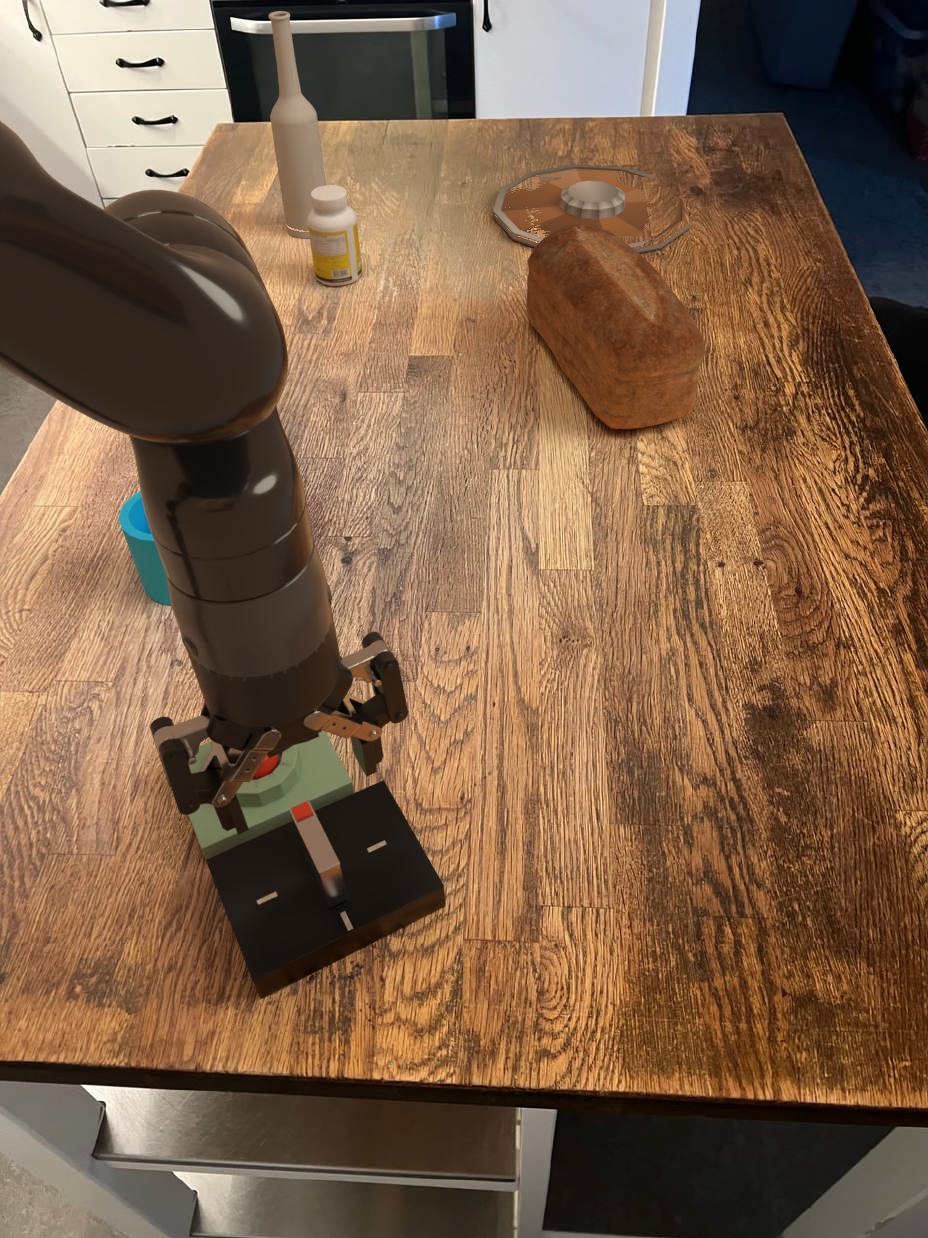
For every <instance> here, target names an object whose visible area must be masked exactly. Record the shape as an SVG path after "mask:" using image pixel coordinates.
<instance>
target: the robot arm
mask: <svg viewBox="0 0 928 1238" xmlns="http://www.w3.org/2000/svg"><path fill="white" fill-rule="evenodd" d="M0 368H3V369H4V370H6V371H7V372H9V373H11V374H12V375H14V376H17V377H18V378H20V379H21V380H23V381H25V382H26V383H28V384H29V385H31V386H33V387H35V388H37V389H38V390H40V391H42V392H43V393H45V394H47V395H48V396H50V397H52V398H54V399H56V400H57V401H59V402H61V403H63V404H64V405H66V406H68V407H70V408H71V409H73V410H75V411H76V412H78V413H81V414H82V415H84V416H85V417H88V418H89V419H91V420H93V421H95V422H97V423H99V424H102V425H103V426H106V427H108V428H110V429H112V430H115V431H118V432H120V433H123V434H125V435H128V438H129V441H130V444H131V445H132V451H133V453H134V454H133V456H134V460H135V466H136V471H137V478H138V484H139V492H140V491H141V496H142V501H143V506H144V510H145V514H146V517H147V521H148V524H149V528H150V530H151V533H152V536H153V539H154V541H155V544H156V547H157V550H158V553H159V556H160V559H161V562H162V564H163V567H164V570H165V574H166V578H167V583H168V590H169V596H170V601H171V605H170V606H171V610H172V612H173V613H172V614H173V615H174V618H175V621H176V624H177V627H178V629H179V632H180V635H181V636H180V637H181V641H182V644H183V646H184V648H185V650H186V652H187V655H188V658H189V661H190V663H191V666H192V669H193V672H194V674H195V677H196V680H197V683H198V686H199V690H200V691H201V694H202V698H203V705H202V708H201V710H200V715H199V716H196V717H193V718H189V719H187V720H185V721H182V722H179V723H176V724H174V722H173V719H172V718H171V717H169V716H160V717H157V718H155V719H154V720H153V721H152V722H151V723H150V724H149V730H150V732H151V735H152V739H153V742H154V745H155V748H156V751H157V754H158V757H159V761H160V763H161V767H162V769H163V773H164V776H165V779H166V782H167V784H168V787H169V788H170V790H171V792H172V795H173V798H174V802H175V806H176V808H177V810H178V813H179V814H180V815H182V816H188V815H189V814H192V813H194V812H196V811H197V810H198V809H199V807H200V805H201V804H211V805H213V806H214V809H215V811H216V814H217V816H218V818H219V821H220V823H221V826H222V828H223V829H225V830H226V831H229V830H231V829H234V828H236V831H237V833H238V835H239V834H242V833H244V832H246V831H248V830H249V828H248V826H247V823H246V820H245V817H244V814H243V812H242V809H241V806H240V803H239V800H238V798H237V796H236V793H237V791H238V790H239V788H240V786H241V785H242V783H243V782H250V781H251V780H252V778H253V776H254V775H255V773H256V772H257V770H258V768H259V767H260V765H261V763H262V762H263V760H264V759H265V757H266V755H268V757H269V758H271V757H273V756H275V755H278V754H280V753H282V752H284V751H285V750H287V749H288V748H290V747H292V746H293V745H296V744H300V743H304V742H308V741H310V740H312V739H315V738H317V737H319V733H320V732H321V731H322V730H323V731H325V732H326V733H328V734H332V735H335V736H338V737H340V738H343V739H345V740H349V739H350V742H351V746H352V751H353V755H354V757H355V759H356V761H357V763H358V765H359V766H360V768H361V770H362V772H363V774H364V775H365V777H369V776H371V775H374V774H376V773H377V772H378V769H377V768H378V767H377V765H378V764H380V763H382V762H383V759H384V750H383V744H382V743H383V742H382V734H383V729H384V727H385V726H386V725H387V724H389V723H390V722H391V723H392V724H399V723H402V722H404V721H405V720H406V719H407V718H408V716H409V708H408V703H407V699H406V694H405V689H404V683H403V678H402V674H401V670H400V664H399V661H398V660H397V658H396V656H395V655H394V654H393V652H392V650H391V649H390V647H389V646H388V644H387V643H386V641H385V640H384V638H383V635H381V633H380V632H378V631H372V632H368V633H367V634H365V635H364V637H362V639H361V647H362V649H359V650H357V651H355V652H353V653H350V654H347V655H346V656H343V657H342V656H341V653H340V648H339V642H338V641H339V640H338V637H337V630H336V625H335V619H334V614H333V609H332V601H333V595H332V591H331V587H330V584H329V582H328V581H327V576H326V575H327V574H326V570H325V567H324V563H323V561H322V558H321V555H320V553H319V550H318V548H317V545H316V541H315V539H314V538H315V537H314V535H313V528H312V525H311V523H312V522H311V517H310V512H309V507H308V502H307V496H306V490H305V484H304V482H303V481H304V480H303V476H302V474H301V470H300V467H299V463H298V462H297V461H298V460H297V458H296V456H295V453H294V450H293V448H292V446H291V443H290V441H289V439H288V436H287V434H286V431H285V428H284V426H283V423H282V421H281V418H280V414H279V411H278V410H279V409H278V403H279V401H280V400H281V398H282V395H283V393H284V391H285V387H286V383H287V379H288V371H289V354H288V345H287V337H286V334H285V330H284V327H283V324H282V321H281V318H280V316H279V313H278V310H277V309H276V306H275V305H274V302H273V300H272V297H271V295H270V293H269V292H268V289H267V287H266V285H265V283H264V281H263V279H262V276H261V274H260V272H259V270H258V267H257V264H256V263H255V261H254V258H253V256H252V254H251V252H250V250H249V248H248V246H247V244H246V243H245V242H244V240H243V238H242V237H241V235H240V234H239V233H238V231H236V229H235V228H234V227H233V226H232V224H230V223H229V222H228V221H227V220H226V219H225V218H224V217H223V216H222V215H221V214H220V213H219V212H217V211H216V210H215V209H214V208H212V207H211V206H210V205H208V204H206V203H204V202H202V201H201V200H199V199H197V198H194V197H193V196H190V195H187V194H185V193H181V192H177V191H172V190H168V189H167V190H166V189H144V190H139V191H134V192H130V193H128V194H125V195H123V196H121V197H119V198H117V199H115V200H113V202H111V203H109V204H108V205H106V206H105V207H104V208H101V207H100V206H99V205H97V204H94V203H93V202H91V201H90V200H89V199H88V200H87V198H85V197H83V196H81V195H79V194H77V193H76V192H74V191H73V190H71V189H69V188H68V187H66V186H65V185H63V184H62V183H61V182H59V181H58V180H57V179H56V178H55V177H53V176H52V175H51V174H50V173H49V172H48V171H47V170H46V169H45V168H44V167H43V165H42V164H41V163H40V162H39V161H38V159H37V158H36V156H35V155H34V153H33V151H31V148H29V146H28V145H27V143H26V142H25V141H24V139H22V138H21V136H19V134H18V133H16V132H15V130H13V129H12V128H11V127H10V126H9V125H7V124H6V123H5V122H3V121H2V120H0ZM354 678H361V679H362V680H363V681H364V683H367V684H368V683H369V684H371V686H372V687H371V688H372V691H373V696H372V697H370V698H369V699H367V700H364V699H362V698H359V697H357V696H355V695H352V694H349V691H350V690H351V688H352V685H353V683H354ZM208 738H209V740H210V741H212V749H211V752H210V753H209V755H208V757H207V759H206V760H205V762H204V764H203V765H202V767H201V769H200V771H199V772H196V773H191V770H190V767H189V765H193V764H194V763H195V762H196V761H197V760H196V757H195V755H196V754H197V753H198V751H199V746H201V744H202V743H203V741H205V740H206V739H208Z"/></svg>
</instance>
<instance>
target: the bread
mask: <svg viewBox="0 0 928 1238" xmlns="http://www.w3.org/2000/svg"><path fill="white" fill-rule="evenodd" d="M527 266H528V273H527V278H526V280H527V281H526V282H527V283H526V303H525V304H526V305H525V306H526V307H525V309H526V314H527V317H528V318H529V321H530V324H531V325H532V326H533V328H534V330H535V331H537V332H538V333H539V335H540V337H542V339H543V340H544V342H545V343H546V344H547V346H548V347H549V349H550V350H551V352H552V353H553V355H554V357H555V359H556V361H557V363H558V365H559V366H560V369H561V370H562V372H563V373H564V374H565V375H566V376H567V377H568V379H569V381H571V382H572V384H573V385H574V387H576V389H577V391H578V392H579V394H580V395H581V396H582V398H583V400H584V402H586V404H587V405H588V407H589V409H590V410H591V411H592V412H593V414H594V415H595V416H596V417H597V419H599V420H600V421H601V422H602V423H603V424H605V425H606V426H607V427H609V428H610V429H615V430H634V429H637V430H638V429H643V428H648V427H654V426H657V425H662V424H666V423H669V422H672V421H675V420H679V419H681V418H683V417H687V416H688V415H690V414H691V413H692V412H693V411H694V408H695V404H696V401H697V393H698V392H697V391H698V383H699V377H700V376H699V375H700V366H701V365H702V362H703V360H704V357H705V354H706V351H705V350H706V343H705V341H704V338H703V335H702V332H701V331H700V329H699V327H698V325H697V323H696V322H695V319H694V317H693V316H692V315H691V314H690V312H689V310H688V309H687V308H686V306H685V305H684V303H683V302H682V301H681V299H680V298H678V296H677V295H676V293H674V291H673V290H672V288H671V287H670V286H669V284H668V282H666V281H665V279H664V277H662V275H661V273H660V272H659V271H658V270H657V269H656V268H655V266H654V265H653V264H652V263H651V262H650V261H648V259H646V257H644V256H643V255H642V253H641V254H640V253H638V252H637V251H635V250H634V249H633V248H631V247H630V246H629V245H628V244H626V243H625V242H624V241H622V240H621V239H620V238H618V237H617V236H615V235H614V234H613V233H611V232H610V231H608V230H605V229H603V228H600V227H598V226H595V225H591V224H585V225H580V224H575V225H569V226H564V227H562V228H560V229H558V230H556V231H554V232H552V233H551V234H550V235H548V236H547V237H545V238H544V239H543V240H541V242H540V243H539V244H538V245H537V246H536V247H535V248H534V247H533V249H532V252H531V253H530V255H529V257H528V259H527Z"/></svg>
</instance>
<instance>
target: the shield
mask: <svg viewBox="0 0 928 1238" xmlns="http://www.w3.org/2000/svg"><path fill="white" fill-rule="evenodd" d="M559 171H560V172H559ZM616 171H617V172H616ZM619 171H623V172H626V173H629V174H633V175H638V176H641V177H651V178H652V177H657V176H655V175H651V174H648V173H645V172H642V171H639V170H635V169H631V168H628V167H626V166H625V167H624V166H614V165H612V166H611V165H594V164H593V165H592V164H575V163H574V164H568V165H563V166H557V167H549V168H545V169H539V170H534V171H529V172H527V173H526V174H523V175H522V176H520V177H517V178H516V179H514V180H513V181H511V182H509V183H507V184H505V185H504V186H502V187H500V188H499V190H498V193H497V197H496V200H495V203H494V206H493V209H492V219H493V220H494V221H495V222H496V223H497V224H498V225H499V227H500V228H501V229H502V230H503V231H504V232H505V233H506V234H507V235H508V236H509V237H510V238H511V240H512V241H514V242H517V243H521V244H522V245H525V246H529V247H532V248H533V249H534V248H535V247H536V246H537V245H538V244H539V243H536V242H533V241H530V240H527V239H524V238H528V239H532V240H534V241H537V242H541V240H543V239H544V238H541V237H538V236H536V235H533V234H530V232H531V231H529V232H527V230H531V229H532V228H533V227H534V228H541V229H537V230H533V231H538V230H544V231H550V232H546V233H543V234H549V235H550V234H551V233H552V232H554V231H556V230H558V229H560V228H562V227H564V226H569V225H575V224H580V225H585V224H591V225H595V226H598V227H600V228H603V229H605V230H608V231H610V232H611V233H613V234H614V235H615V236H617V237H618V238H621V237H623V236H626V237H627V236H633V235H634V236H637V235H639V234H640V235H639V236H641V233H642V232H643V230H645V229H646V228H647V227H646V228H645V229H643V228H644V227H643V226H644V225H645V224H646V223H647V222H648V220H647V221H646V222H645V220H646V219H648V218H649V217H650V216H651V214H650V215H649V216H648V212H647V211H646V210H647V208H645V209H644V207H654V205H655V204H653V203H651V204H650V202H651V200H650V199H649V198H650V197H649V198H648V199H646V198H647V197H646V196H645V195H646V194H645V193H646V192H645V193H644V192H643V191H644V190H642V191H641V188H640V189H638V188H639V187H636V188H635V187H631V185H629V186H627V185H625V186H624V185H621V184H619V183H618V182H617V180H618V179H616V180H615V177H622V176H623V173H620V172H619ZM549 173H552V174H549ZM619 174H620V175H619ZM536 175H539V176H536ZM530 177H561V179H560V180H550V181H549V182H546V181H542V182H546V184H543V183H538V184H542V186H538V187H539V188H536V189H535V190H532V191H528V190H526V189H528V188H526V189H519V188H516V189H519V190H520V191H519V190H514V191H516V192H514V191H511V190H513V189H511V188H513V187H515V186H516V185H518V184H520V183H521V182H523V181H525V180H527V179H528V178H530ZM623 177H626V175H624V176H623ZM659 181H660V180H659ZM619 182H620V181H619ZM521 188H523V187H521ZM665 188H666V187H665ZM510 189H511V190H510ZM666 189H667V188H666ZM529 190H531V189H529ZM667 190H668V189H667ZM508 191H509V192H508ZM526 191H527V192H526ZM668 191H669V192H670V193H671V194H672V195H673V196H674V197H675V198H676V199H677V200H678V208H677V217H676V221H675V222H674V223H673V224H671V225H670V226H669V227H667V228H666V229H665V230H663V231H662V232H661V233H659V234H658V235H657V236H655V237H654V238H652V239H656V238H658V237H659V236H662V235H663V234H665V233H666V232H667V231H668V230H669V229H671V228H672V227H674V226H675V225H677V224H678V223H680V222H681V221H682V218H683V201H682V200H681V199H680V198H678V197H677V196H676V195H675V194H673V193H672V192H671V191H670V190H668ZM506 192H507V193H506ZM511 192H513V193H511ZM508 193H509V194H508ZM643 193H644V194H643ZM647 196H648V195H647ZM648 200H650V201H648ZM648 202H649V203H648ZM647 203H648V204H647ZM505 207H506V208H505ZM509 207H510V208H509ZM526 207H527V208H526ZM641 207H642V208H641ZM656 207H657V206H656ZM533 208H535V209H533ZM527 209H528V211H529V212H530V214H531V215H532V216H534V217H535V218H534V219H538V221H534V222H531V221H532V220H534V219H531V217H528V216H529V215H530V214H527V212H528V211H526V210H527ZM535 210H539V211H536V212H533V213H531V211H535ZM645 211H646V212H645ZM539 212H542V213H540V214H538V213H539ZM649 212H650V211H649ZM536 214H537V215H536ZM495 215H496V216H497V217H498V218H497V217H496V216H495ZM647 216H648V217H647ZM530 219H531V220H530ZM525 220H527V221H525ZM529 222H531V223H533V224H534V225H531V223H529ZM644 222H645V223H644ZM537 225H541V226H538V227H535V226H537ZM690 226H691V223H690V224H688V225H687V226H685V227H684V228H683V229H681V230H680V231H678V232H677V233H675V234H674V235H673V236H671V237H670V238H668V239H667V240H665V241H664V242H663V243H659V244H654V245H649V246H645V247H640V248H635V249H634V250H635V251H637V252H638V253H640V254H641V255H642V254H645V253H650V252H655V251H660V250H662V249H664V248H665V247H667V246H668V245H670V244H671V243H672V242H674V241H675V240H676V239H678V238H680V237H681V236H682V235H684V234H685V233H686V232H688V231H689V230H690ZM530 227H531V228H530ZM507 228H508V229H509V230H510V231H511V232H510V231H509V230H508V229H507ZM529 228H530V229H529ZM642 229H643V230H642ZM641 230H642V231H641ZM638 232H639V233H638ZM535 234H537V232H536V233H535ZM635 234H636V235H635ZM518 236H522V237H524V238H521V237H518ZM545 236H548V235H545ZM619 236H621V237H619ZM624 238H625V237H624ZM622 239H623V238H622ZM649 240H651V239H648V240H647V241H646V240H644V241H640V242H635V243H630V244H628V245H629V246H630V247H631V248H633V247H639V246H643V245H644V243H646V242H648V241H649ZM623 241H624V240H623ZM645 241H646V242H645ZM648 243H649V242H648ZM648 243H647V244H648Z"/></svg>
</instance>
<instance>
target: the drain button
mask: <svg viewBox="0 0 928 1238" xmlns="http://www.w3.org/2000/svg"><path fill="white" fill-rule="evenodd" d="M278 759H279V754H278V755H275V756H273V757H271V758H269V757H268V755H266V757H265V759H264V760H263V762H262V763H261V765H260V767H259V768H258V770H257V772H256V773H255V775H254V776H253V778H252V779H258V778H261V777H264V776H266V775H268V774H269V773H270V772H271V771H272V770H273V769H274V768H275V767H276V765H277V763H278Z"/></svg>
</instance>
